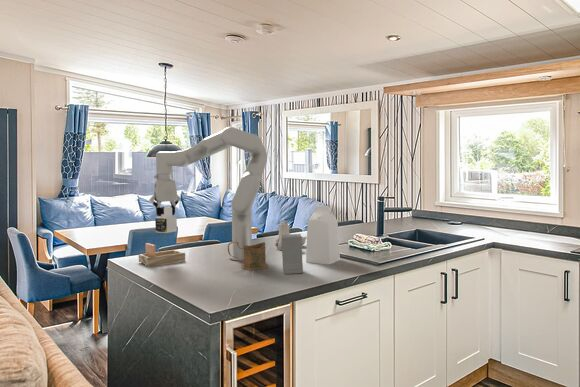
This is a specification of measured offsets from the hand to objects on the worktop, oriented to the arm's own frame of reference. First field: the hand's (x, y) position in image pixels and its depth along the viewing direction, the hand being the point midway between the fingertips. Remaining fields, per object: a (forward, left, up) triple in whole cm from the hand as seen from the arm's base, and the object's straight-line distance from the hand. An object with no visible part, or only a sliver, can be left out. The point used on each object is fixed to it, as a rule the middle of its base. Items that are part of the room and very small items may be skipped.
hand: (165, 214), depth 213 cm
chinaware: (-14, -64, -23) cm, 70 cm away
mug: (-39, -20, -23) cm, 50 cm away
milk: (-51, -54, -23) cm, 78 cm away
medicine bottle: (0, 0, -8) cm, 8 cm away
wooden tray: (0, +3, -22) cm, 22 cm away
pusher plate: (0, +8, -21) cm, 23 cm away
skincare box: (-60, -28, -23) cm, 70 cm away
